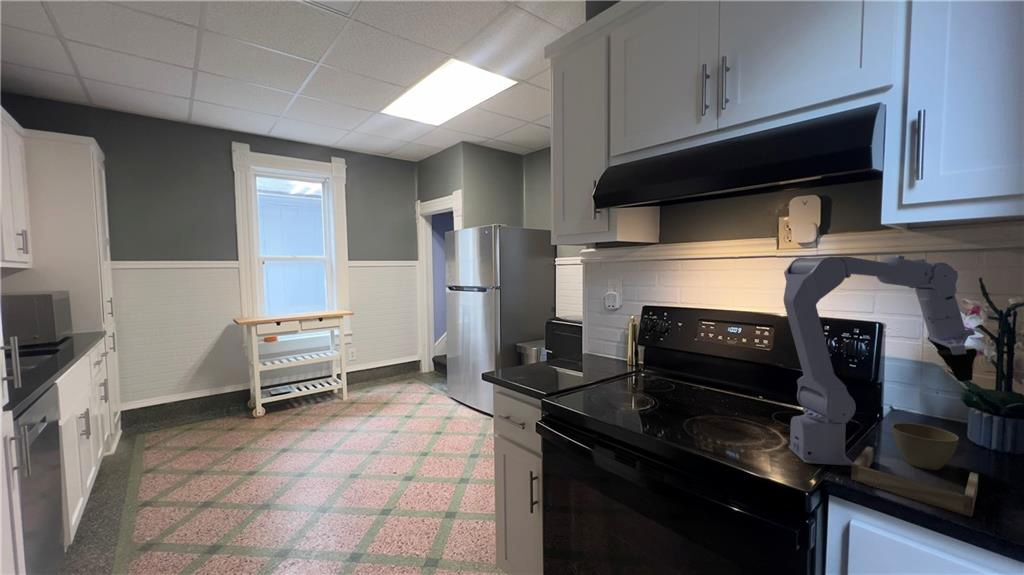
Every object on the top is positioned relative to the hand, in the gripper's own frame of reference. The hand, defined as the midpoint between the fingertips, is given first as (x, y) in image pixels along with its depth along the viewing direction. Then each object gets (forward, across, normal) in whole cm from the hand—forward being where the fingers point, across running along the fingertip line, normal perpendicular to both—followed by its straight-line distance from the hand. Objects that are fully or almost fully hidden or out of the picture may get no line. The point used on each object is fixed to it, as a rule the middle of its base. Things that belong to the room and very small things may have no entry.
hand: (959, 372), depth 92 cm
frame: (+10, -25, +14) cm, 31 cm away
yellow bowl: (+13, -14, +11) cm, 22 cm away
